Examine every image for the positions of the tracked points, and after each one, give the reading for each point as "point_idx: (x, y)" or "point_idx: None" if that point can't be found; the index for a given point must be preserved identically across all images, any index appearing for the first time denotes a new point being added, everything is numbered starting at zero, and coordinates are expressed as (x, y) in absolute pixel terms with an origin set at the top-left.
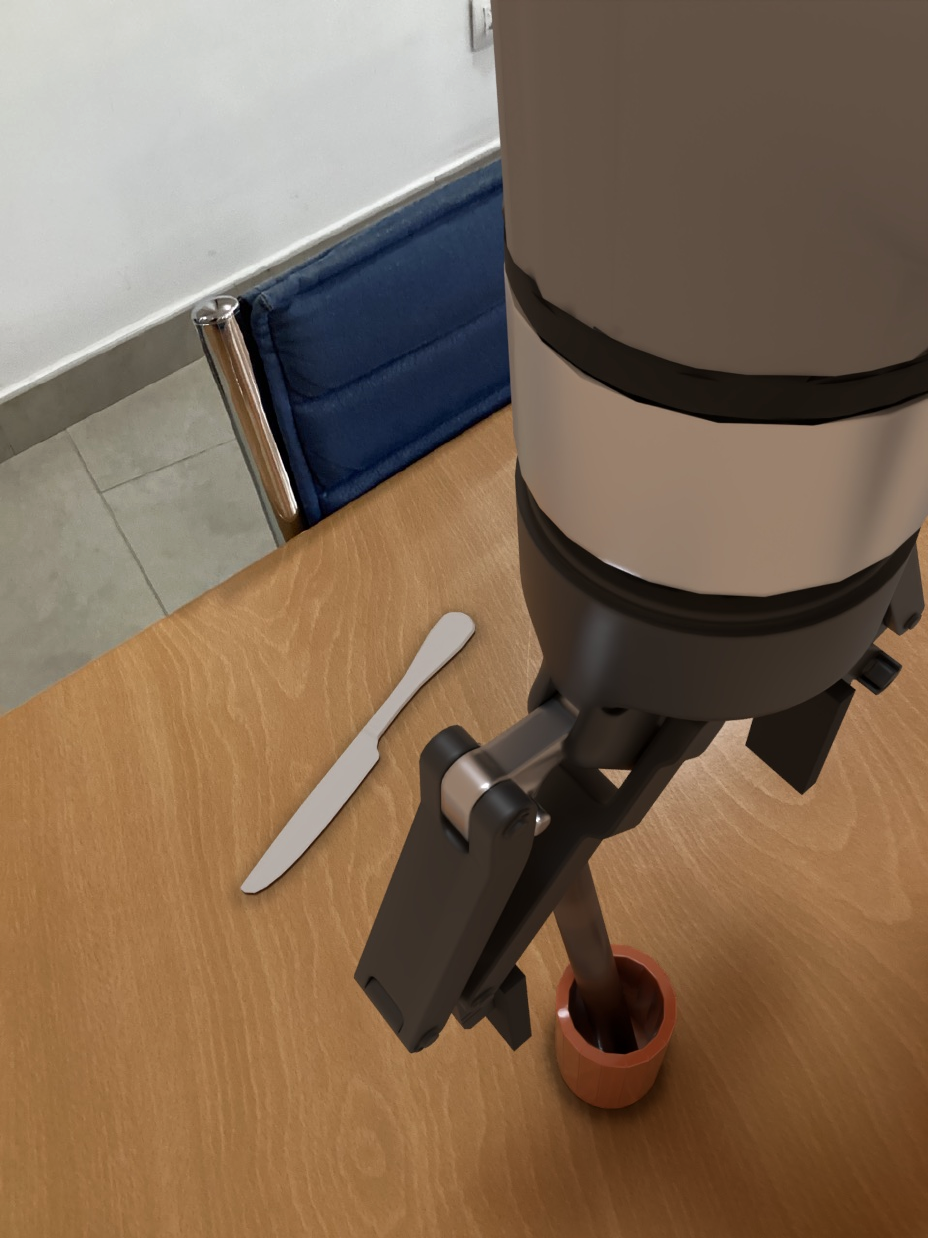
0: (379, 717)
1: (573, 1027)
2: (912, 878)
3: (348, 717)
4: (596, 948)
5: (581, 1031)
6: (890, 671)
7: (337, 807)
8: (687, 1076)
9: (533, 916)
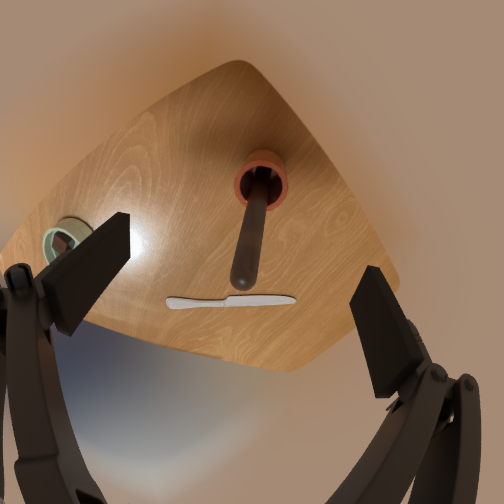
0: (217, 304)
1: (280, 195)
2: (134, 119)
3: (224, 311)
4: (256, 216)
5: None
6: (12, 276)
7: (253, 296)
8: (251, 140)
9: (423, 442)
